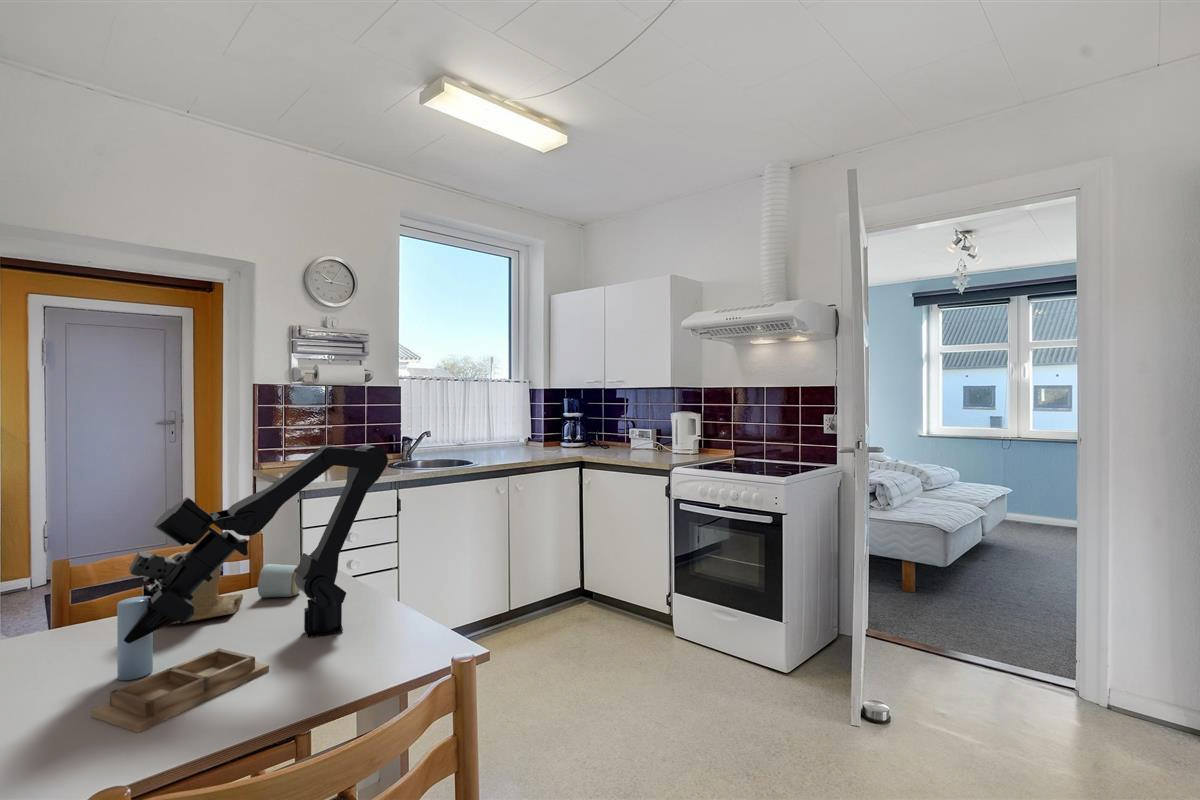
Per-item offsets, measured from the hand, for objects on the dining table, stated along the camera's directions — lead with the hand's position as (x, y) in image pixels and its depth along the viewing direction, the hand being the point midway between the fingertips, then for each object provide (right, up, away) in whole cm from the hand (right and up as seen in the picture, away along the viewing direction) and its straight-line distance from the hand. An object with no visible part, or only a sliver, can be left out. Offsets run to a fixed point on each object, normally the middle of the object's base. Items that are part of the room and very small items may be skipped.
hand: (125, 637), depth 101 cm
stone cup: (-5, -7, +27) cm, 29 cm away
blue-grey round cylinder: (+1, -7, +1) cm, 7 cm away
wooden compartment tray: (+14, -7, -5) cm, 16 cm away
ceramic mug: (+4, -7, +43) cm, 44 cm away
